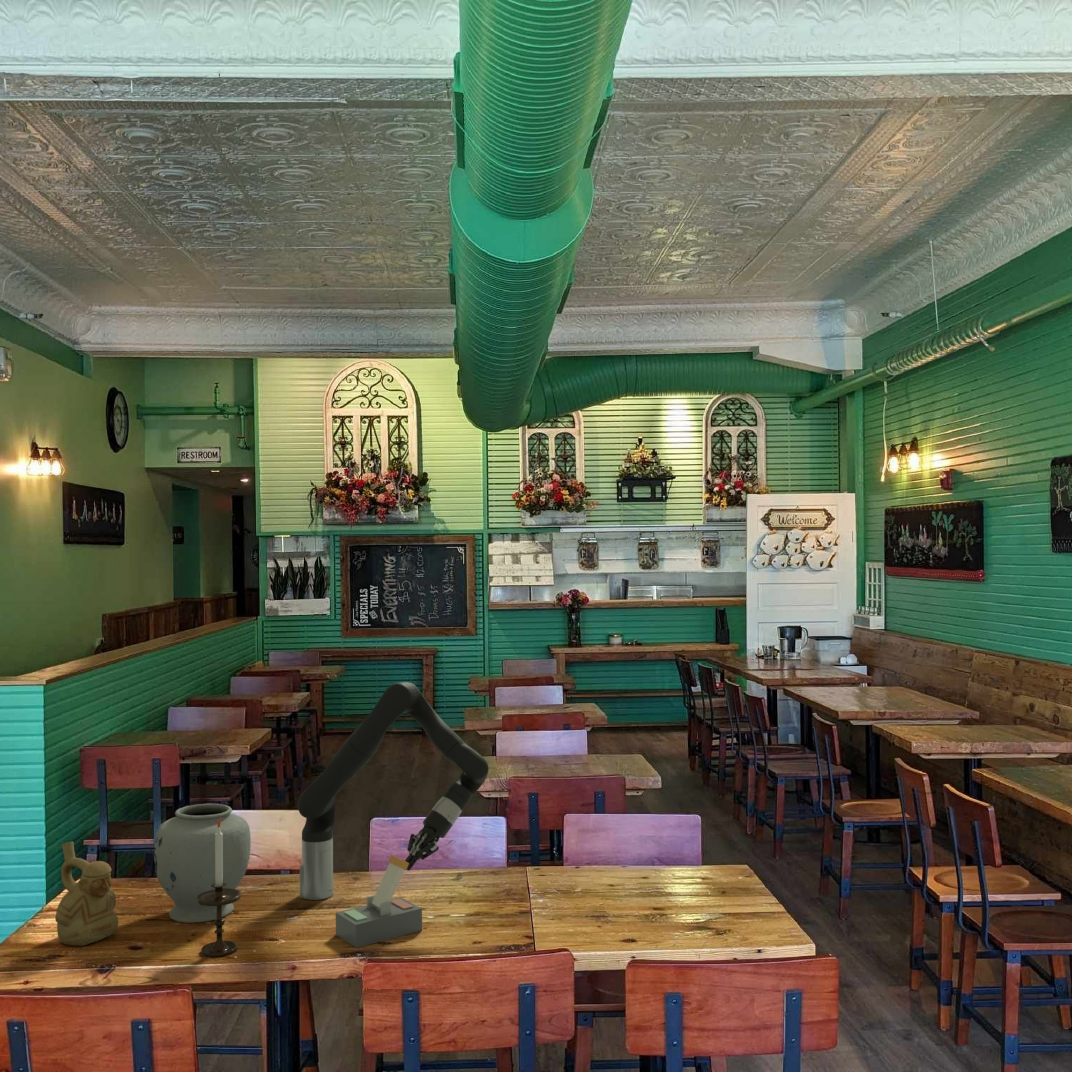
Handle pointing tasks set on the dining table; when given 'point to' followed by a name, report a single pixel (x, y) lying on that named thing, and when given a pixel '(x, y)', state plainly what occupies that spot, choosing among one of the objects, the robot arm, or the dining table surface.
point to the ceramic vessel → (85, 901)
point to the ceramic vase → (199, 858)
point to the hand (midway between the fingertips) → (405, 868)
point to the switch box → (378, 922)
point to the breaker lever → (389, 881)
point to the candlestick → (219, 903)
